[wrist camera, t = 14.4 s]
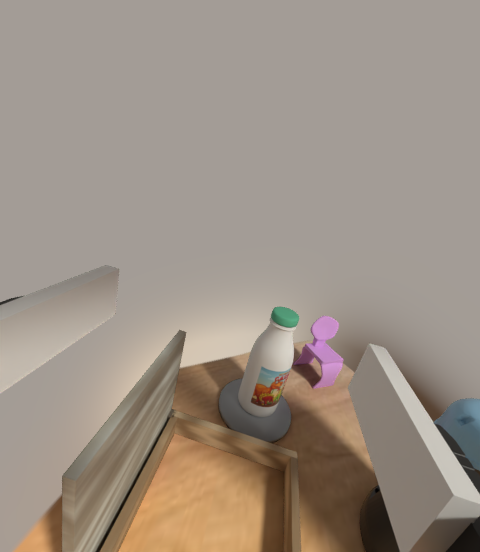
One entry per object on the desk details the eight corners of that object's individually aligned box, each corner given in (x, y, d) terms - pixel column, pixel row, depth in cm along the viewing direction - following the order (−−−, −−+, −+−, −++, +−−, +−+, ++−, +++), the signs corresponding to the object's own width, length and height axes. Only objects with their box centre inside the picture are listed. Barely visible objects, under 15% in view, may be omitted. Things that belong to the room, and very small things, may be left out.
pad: (289, 393, 55) (290, 390, 55) (290, 455, 42) (291, 452, 42) (227, 373, 56) (228, 370, 56) (209, 427, 43) (210, 424, 43)
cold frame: (290, 467, 40) (330, 377, 34) (293, 708, 21) (383, 600, 15) (162, 422, 42) (179, 330, 36) (61, 606, 23) (62, 475, 17)
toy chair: (310, 390, 57) (334, 334, 53) (289, 364, 65) (308, 312, 60) (337, 386, 61) (361, 333, 56) (314, 361, 68) (334, 312, 64)
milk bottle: (231, 407, 47) (259, 313, 41) (244, 381, 54) (269, 297, 48) (271, 426, 45) (307, 330, 39) (279, 396, 52) (310, 311, 46)
